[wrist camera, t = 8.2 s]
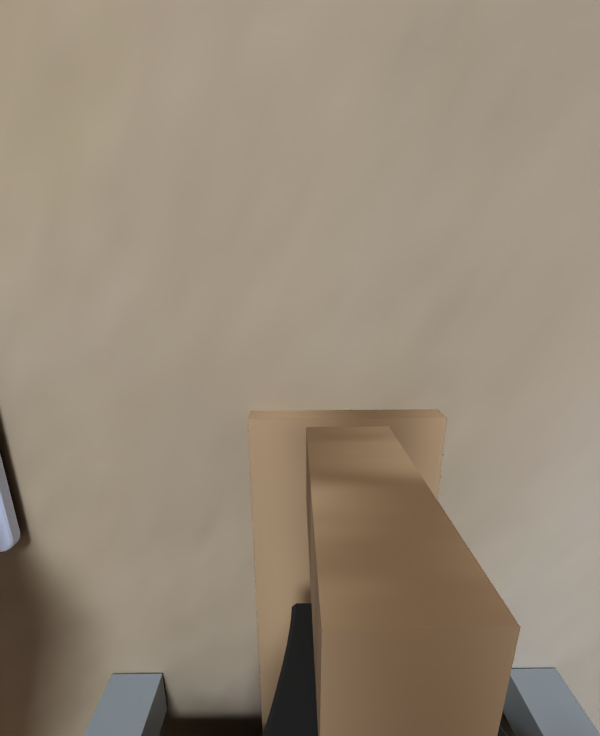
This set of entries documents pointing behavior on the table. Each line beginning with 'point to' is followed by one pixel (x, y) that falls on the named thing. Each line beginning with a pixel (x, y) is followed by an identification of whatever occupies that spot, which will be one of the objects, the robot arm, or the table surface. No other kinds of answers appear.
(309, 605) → the robot arm
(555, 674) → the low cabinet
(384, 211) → the table surface
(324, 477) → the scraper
